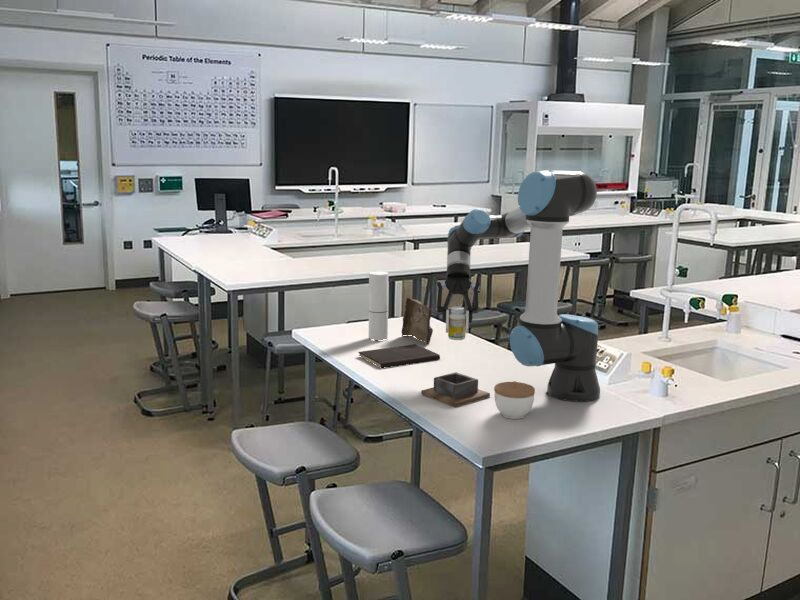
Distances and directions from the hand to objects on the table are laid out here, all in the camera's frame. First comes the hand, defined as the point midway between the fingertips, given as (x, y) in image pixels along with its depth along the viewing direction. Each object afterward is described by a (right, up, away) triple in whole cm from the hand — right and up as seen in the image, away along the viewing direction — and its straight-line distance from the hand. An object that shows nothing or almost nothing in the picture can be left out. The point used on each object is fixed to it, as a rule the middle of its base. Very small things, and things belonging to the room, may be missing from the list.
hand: (457, 330), depth 224 cm
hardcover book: (-18, -11, +29) cm, 35 cm away
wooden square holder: (-1, -18, -10) cm, 21 cm away
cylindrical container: (-25, -5, +54) cm, 60 cm away
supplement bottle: (0, -3, +4) cm, 5 cm away
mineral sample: (-11, -6, +52) cm, 54 cm away
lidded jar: (+13, -22, -25) cm, 36 cm away
